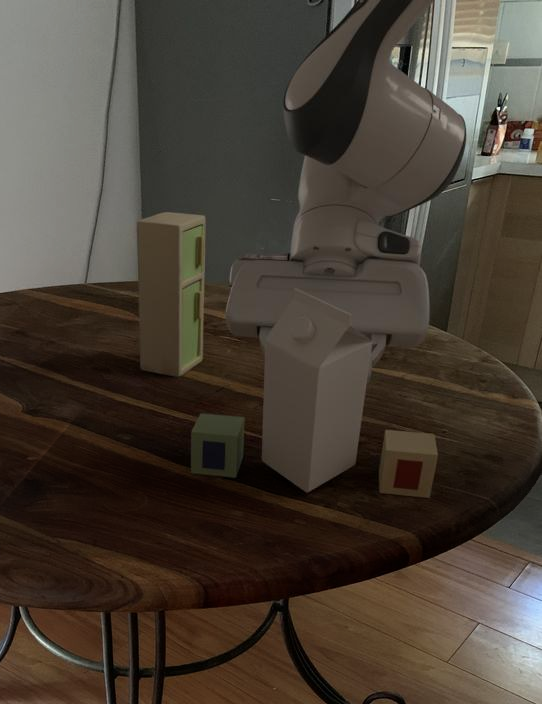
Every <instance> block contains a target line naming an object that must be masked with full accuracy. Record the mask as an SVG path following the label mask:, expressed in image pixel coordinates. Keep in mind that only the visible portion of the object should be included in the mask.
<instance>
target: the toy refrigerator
mask: <svg viewBox="0 0 542 704" xmlns="http://www.w3.org/2000/svg"><path fill="white" fill-rule="evenodd" d="M206 221H207V220H206V216H205V215H202V214H193V213H180V212H171V211H170V212H169V211H165V212H160V213H157V214H154V215H150V216H148V217H144V218H142V219H138V220H137V222H136V248H137V281H138V285H137V286H138V324H139V325H138V328H139V362H140V363H139V367H140V371H141V370H142V371H143V372H148V373H149V372H150V373H156V374H160V375H166V376H170V377H175V378H179V377H181V376H183V375H184V374H185V373H187V372H188V371H190V370H191V369H193V368H194V367H195V366H197V365H198V364H200V363H201V362H202V361H203V359H204V310H205V270H206V269H205V268H206V267H205V266H206Z"/></svg>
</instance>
